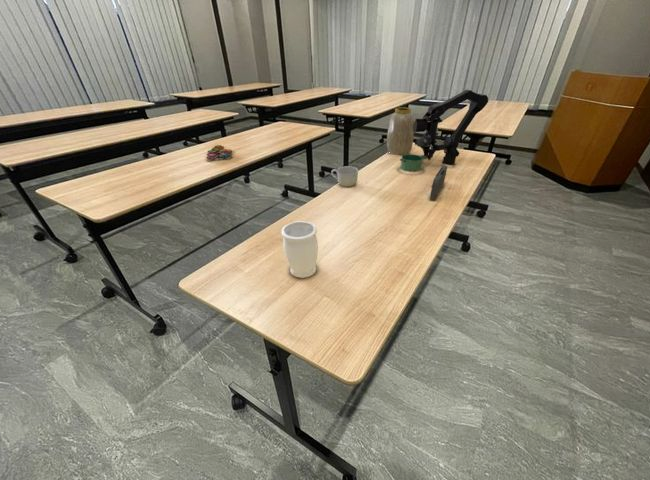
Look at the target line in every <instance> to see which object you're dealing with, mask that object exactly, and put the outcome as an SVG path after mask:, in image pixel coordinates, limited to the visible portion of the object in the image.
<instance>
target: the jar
mask: <svg viewBox="0 0 650 480" xmlns="http://www.w3.org/2000/svg"><path fill="white" fill-rule="evenodd" d="M280 232H281V236H282V237H283V239H282V246H283V253H284V255H285V258H286V261H287V263H288V266H289V267H290V269H289V270H290V271H289V272H290V273H291V275H292V276H294V277H296V278H299V279H300V278H301V279H302V278H304V279H305V278H308V277H311V276H313V275H314V274H315V273H316V271H317V265H316V264H317V262H318V261H317V260H318V252H319V243H318V237H317V232H318V231H317V226H316V225H315V224H314V223H313V222H310V221H306V220H300V221H299V220H297V221H292V222H290V223H287V224H285V225H284V226H283V227H282V228H281V231H280Z"/></svg>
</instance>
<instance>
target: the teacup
mask: <svg viewBox="0 0 650 480" xmlns="http://www.w3.org/2000/svg"><path fill="white" fill-rule="evenodd" d="M334 172H335V173H336V175H335V174H334ZM330 174H331V175H330V176H332V177H333V178H334V179H335V180H336V181H337V183H338V184H339V183H340V184H339V185H341V186H342V187H344V188H350V187H353V186H354V185H356V183H358V179H359V178H358V176H359V169H358V168H357V167H355V166H351V165H350V166H349V165H345V166H340V167H338V168H337V169H336V168H333V169H332V170H331V172H330Z"/></svg>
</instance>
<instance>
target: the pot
mask: <svg viewBox="0 0 650 480" xmlns="http://www.w3.org/2000/svg"><path fill="white" fill-rule="evenodd" d="M428 155H429V153H428V154H427V155H424V154H422V155H419V154H414V153H413V154H410V153H409V154H408V155H403V156H400V158H399V161H400V165H399V166H400V170H402V171H404V172H410V173H412V172H413V173H415V172H420V171H422V170H423V167H424V161H425V159H426V160H428ZM433 157H434V155H433V156H432V158H431V159H433Z"/></svg>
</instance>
